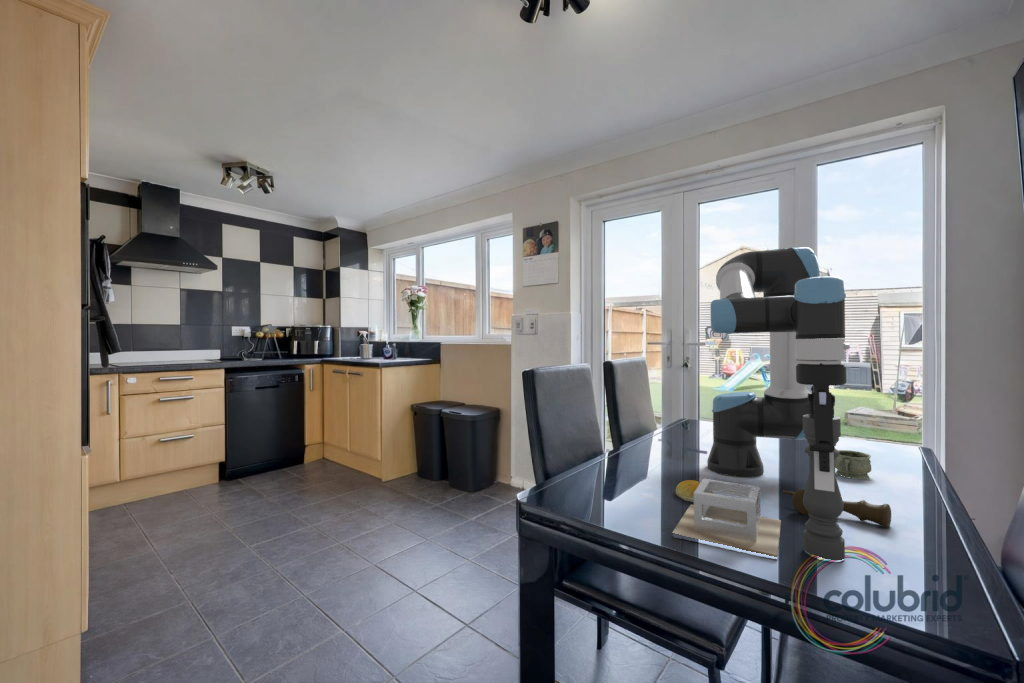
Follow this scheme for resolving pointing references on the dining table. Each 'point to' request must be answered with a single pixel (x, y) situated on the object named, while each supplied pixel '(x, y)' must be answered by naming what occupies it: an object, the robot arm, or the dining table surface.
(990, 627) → the dining table surface
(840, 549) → the candle holder
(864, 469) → the vessel
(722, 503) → the grey cinder block
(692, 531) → the stand base
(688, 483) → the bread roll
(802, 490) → the kendama
